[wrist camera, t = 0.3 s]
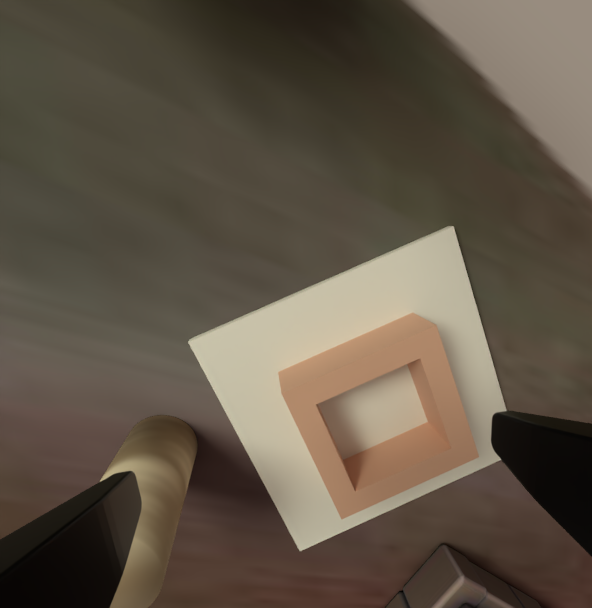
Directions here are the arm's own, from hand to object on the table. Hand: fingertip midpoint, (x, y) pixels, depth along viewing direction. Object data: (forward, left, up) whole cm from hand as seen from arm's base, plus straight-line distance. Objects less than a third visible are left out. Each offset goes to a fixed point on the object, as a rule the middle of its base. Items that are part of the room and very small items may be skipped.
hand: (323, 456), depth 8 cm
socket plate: (+8, +3, -14) cm, 16 cm away
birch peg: (+5, -11, -14) cm, 18 cm away
